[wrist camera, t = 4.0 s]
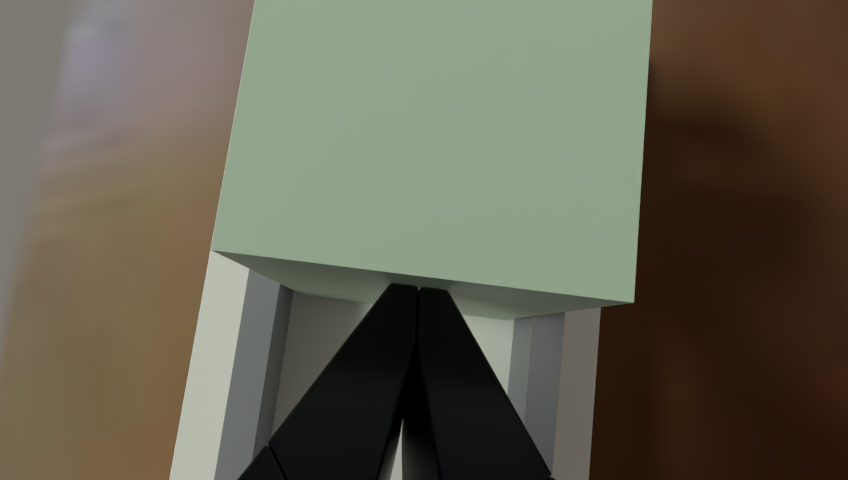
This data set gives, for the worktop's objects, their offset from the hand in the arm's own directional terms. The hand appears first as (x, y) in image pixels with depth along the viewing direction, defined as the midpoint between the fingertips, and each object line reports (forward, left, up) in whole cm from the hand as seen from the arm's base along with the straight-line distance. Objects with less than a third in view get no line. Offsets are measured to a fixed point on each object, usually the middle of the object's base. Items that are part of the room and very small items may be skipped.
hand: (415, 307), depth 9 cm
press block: (+3, -1, -6) cm, 7 cm away
